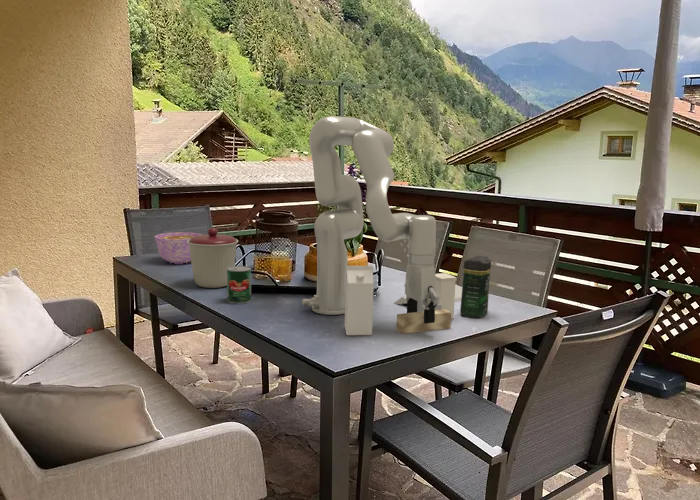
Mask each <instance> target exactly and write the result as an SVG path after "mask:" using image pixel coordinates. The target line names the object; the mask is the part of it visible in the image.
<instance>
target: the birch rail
mask: <svg viewBox="0 0 700 500" xmlns="http://www.w3.org/2000/svg"><path fill="white" fill-rule="evenodd" d="M451 327H452V319H451V312H450V311H448V310H446V309H442V310H435V322H434V323H427V324H425V323H424V311H423V312H413V313H407V312H406V313H405V312H404V313H397V314H396V327H395V328H396V331H397V332H398V333H400V334H402V335H405V334H412V333H421V332H431V331H438V330H439V331H440V330H447V329H451Z"/></svg>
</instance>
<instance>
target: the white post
mask: <svg viewBox="0 0 700 500" xmlns="http://www.w3.org/2000/svg"><path fill="white" fill-rule="evenodd" d="M435 278H436V293H437V295H438V296H439V299H438V302H437V303H438V304H437V306H436V309H435V310H442V309H446V310H448V311H450V312H451V320H453V319H454V316H455V302H454V300H455V284H457V280H458V279H457V277H456V276H454V275H452V274H449V273H447V272H444V273H442V272H441V273H435ZM429 303H430V302H428V305H429ZM424 309H426V308H425V305H424V303H423V301H422V302H419V301H417V312H423V311H424Z"/></svg>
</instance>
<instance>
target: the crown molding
mask: <svg viewBox="0 0 700 500" xmlns="http://www.w3.org/2000/svg"><path fill="white" fill-rule="evenodd" d="M406 297H407V296H406V295H405V296H401V297H400V298H399V299H397V300H395V302H393V304H394V305H401V306H402V305H407V300H406ZM461 297H462V287H461V286H460V285H458V284H457V283H455V300H454V303H457V302H461Z"/></svg>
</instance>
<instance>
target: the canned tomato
mask: <svg viewBox="0 0 700 500" xmlns="http://www.w3.org/2000/svg"><path fill="white" fill-rule="evenodd" d="M226 290H227V291H226V293H227V295H226V297H227V299H226V301H227V302H228V303H229V302H230V304H234V303H243V304H247V303H250V302H252V268H251V267H250V266H245V265H234V266H232V267H228V268H227V286H226Z"/></svg>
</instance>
